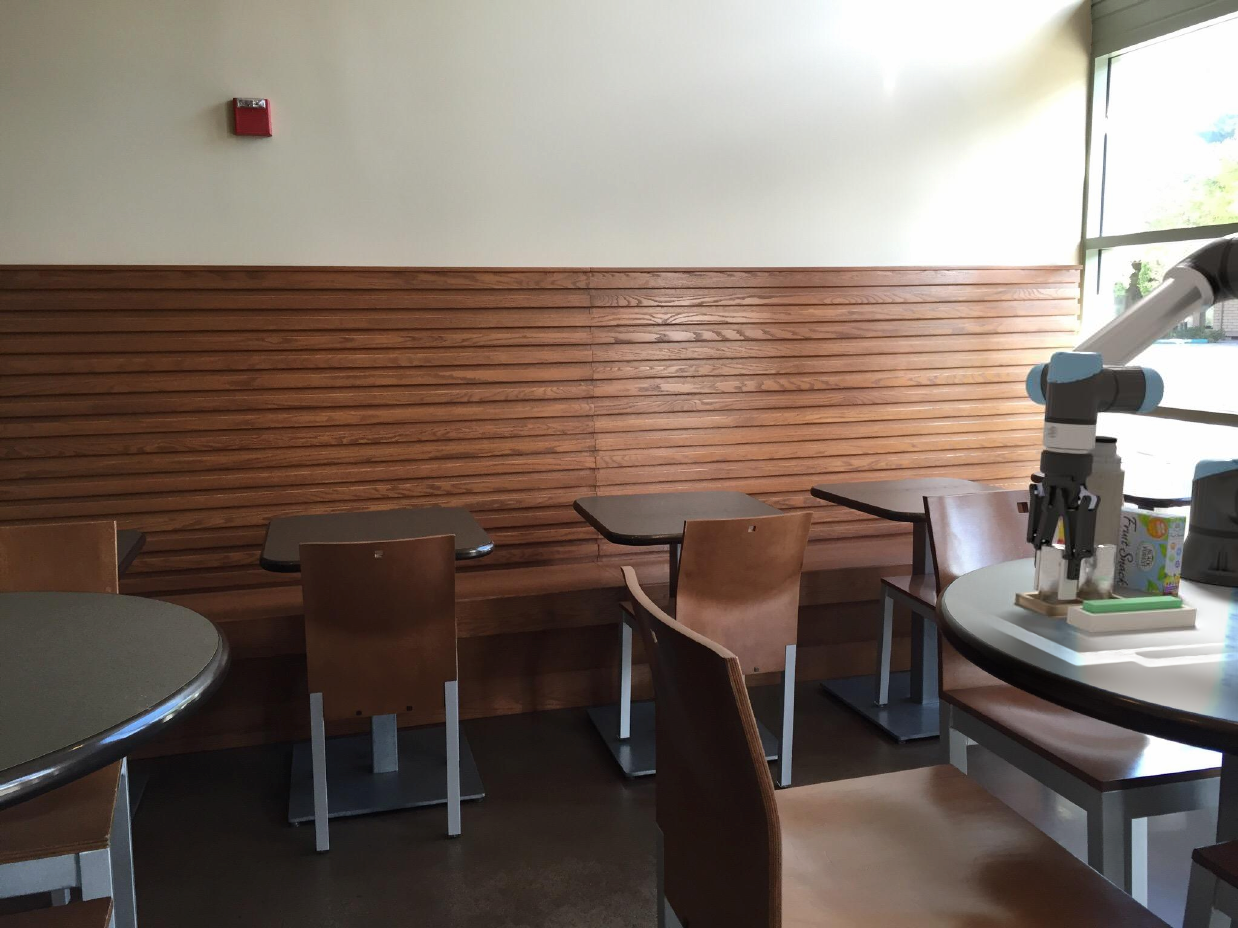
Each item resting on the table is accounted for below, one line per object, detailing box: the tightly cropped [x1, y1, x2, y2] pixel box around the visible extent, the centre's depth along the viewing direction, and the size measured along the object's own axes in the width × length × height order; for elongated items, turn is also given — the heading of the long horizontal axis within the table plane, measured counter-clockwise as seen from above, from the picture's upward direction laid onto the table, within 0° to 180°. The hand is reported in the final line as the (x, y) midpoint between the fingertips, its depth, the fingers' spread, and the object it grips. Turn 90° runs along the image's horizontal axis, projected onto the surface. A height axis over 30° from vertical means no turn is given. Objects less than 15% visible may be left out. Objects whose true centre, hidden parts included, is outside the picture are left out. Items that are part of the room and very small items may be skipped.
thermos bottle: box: [1070, 435, 1126, 592], centre depth 169 cm, size 8×8×28 cm
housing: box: [1066, 603, 1197, 633], centre depth 147 cm, size 19×5×4 cm, turn 105°
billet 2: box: [1078, 542, 1117, 601], centre depth 157 cm, size 5×5×10 cm
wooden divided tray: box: [1012, 589, 1125, 619], centre depth 157 cm, size 16×10×3 cm, turn 105°
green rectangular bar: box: [1082, 595, 1183, 613], centre depth 147 cm, size 16×2×4 cm, turn 105°
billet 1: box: [1037, 543, 1075, 605], centre depth 155 cm, size 5×5×10 cm
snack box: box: [1056, 505, 1187, 596], centre depth 174 cm, size 21×6×15 cm, turn 29°
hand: (1054, 593), depth 155 cm, fingers closed on billet 1, 5 cm apart
